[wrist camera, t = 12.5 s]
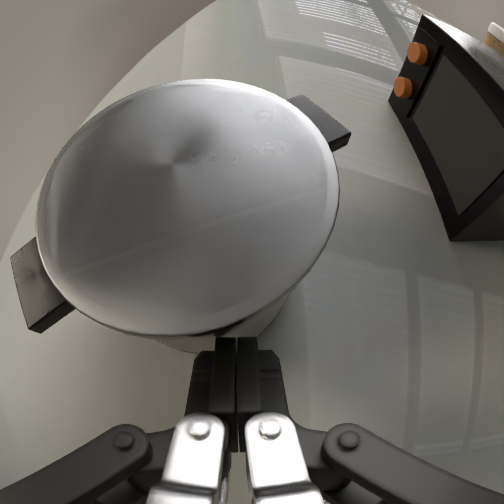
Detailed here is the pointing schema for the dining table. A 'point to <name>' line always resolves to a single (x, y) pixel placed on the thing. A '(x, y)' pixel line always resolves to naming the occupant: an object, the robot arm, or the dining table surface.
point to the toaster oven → (456, 126)
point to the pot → (183, 213)
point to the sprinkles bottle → (495, 38)
